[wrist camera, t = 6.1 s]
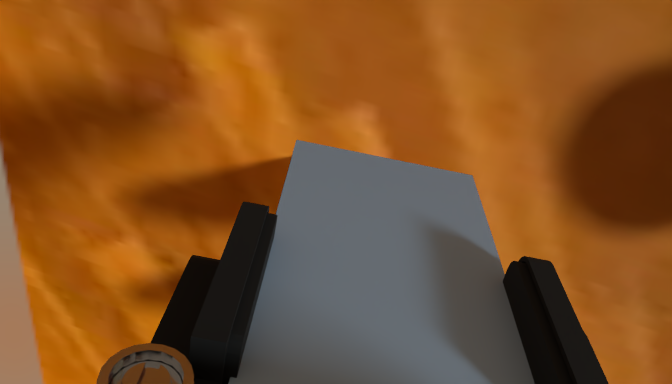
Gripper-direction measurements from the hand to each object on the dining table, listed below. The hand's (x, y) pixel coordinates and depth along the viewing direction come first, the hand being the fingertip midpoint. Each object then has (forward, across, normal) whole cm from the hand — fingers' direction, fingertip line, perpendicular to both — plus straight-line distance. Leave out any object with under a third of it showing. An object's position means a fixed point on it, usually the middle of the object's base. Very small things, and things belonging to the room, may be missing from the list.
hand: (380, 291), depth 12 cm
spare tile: (+5, 0, 0) cm, 5 cm away
